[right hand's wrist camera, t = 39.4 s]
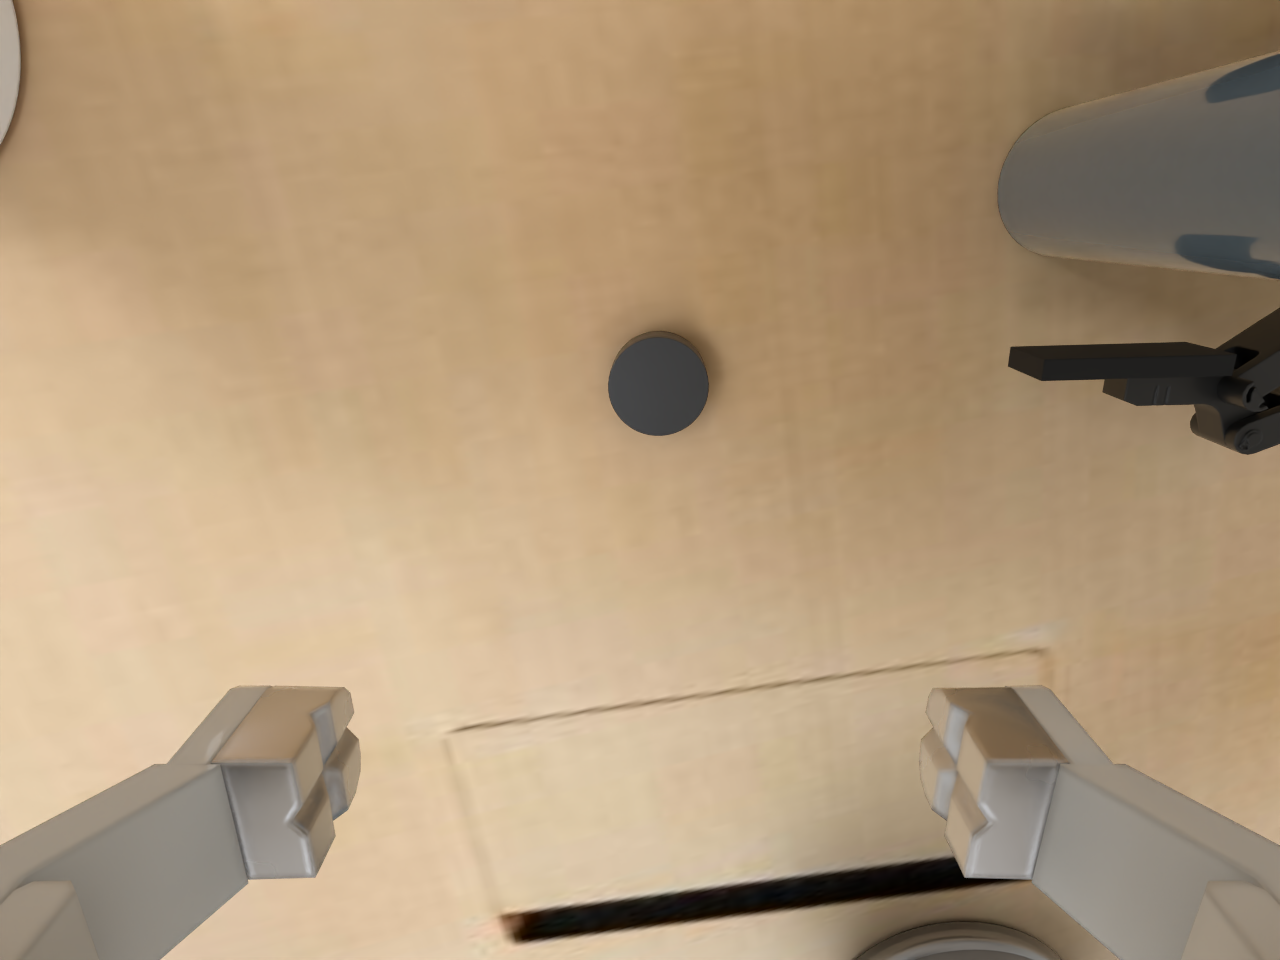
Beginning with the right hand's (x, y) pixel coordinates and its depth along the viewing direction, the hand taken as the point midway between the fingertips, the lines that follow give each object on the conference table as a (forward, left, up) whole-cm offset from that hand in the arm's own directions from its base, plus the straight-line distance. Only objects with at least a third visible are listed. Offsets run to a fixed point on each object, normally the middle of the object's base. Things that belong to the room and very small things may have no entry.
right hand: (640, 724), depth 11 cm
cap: (0, 0, -24) cm, 24 cm away
